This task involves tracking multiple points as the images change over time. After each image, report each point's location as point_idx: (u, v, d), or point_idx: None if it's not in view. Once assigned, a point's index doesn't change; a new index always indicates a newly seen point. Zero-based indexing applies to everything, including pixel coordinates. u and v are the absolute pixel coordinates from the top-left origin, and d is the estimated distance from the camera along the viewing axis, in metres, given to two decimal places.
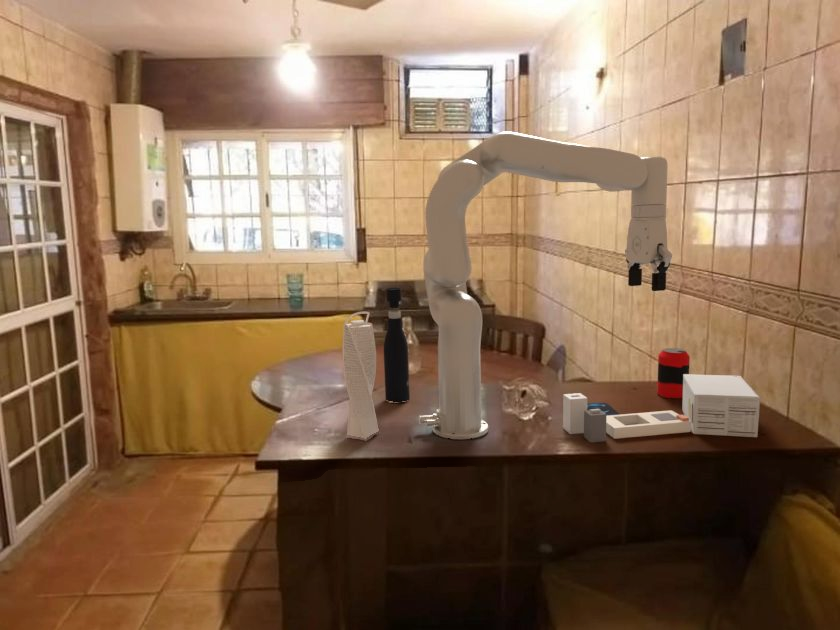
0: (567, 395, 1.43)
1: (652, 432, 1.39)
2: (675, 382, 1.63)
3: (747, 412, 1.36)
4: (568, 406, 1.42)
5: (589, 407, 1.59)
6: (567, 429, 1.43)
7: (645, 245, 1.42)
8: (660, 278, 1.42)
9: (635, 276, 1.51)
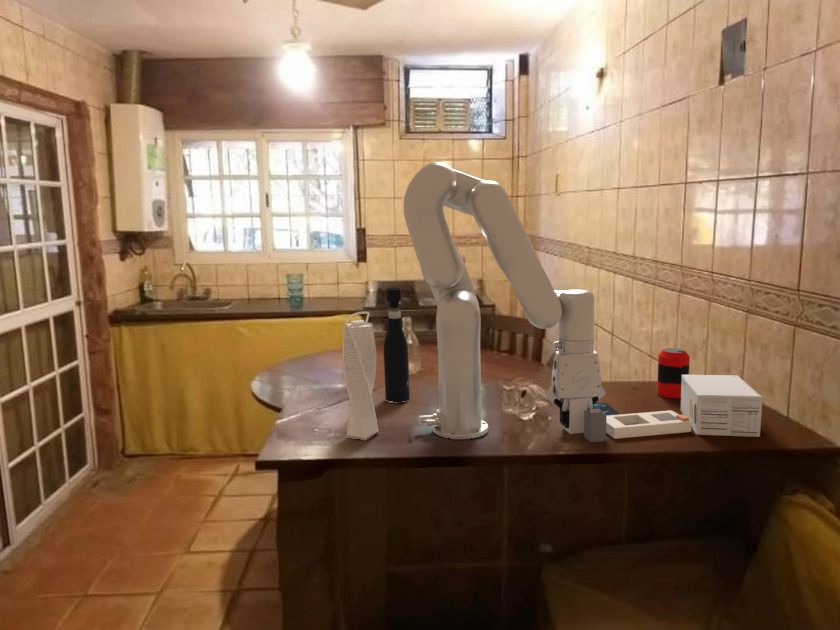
0: None
1: (652, 432, 1.39)
2: (675, 382, 1.63)
3: (749, 412, 1.36)
4: (568, 405, 1.42)
5: None
6: (567, 429, 1.43)
7: (595, 378, 1.40)
8: None
9: None
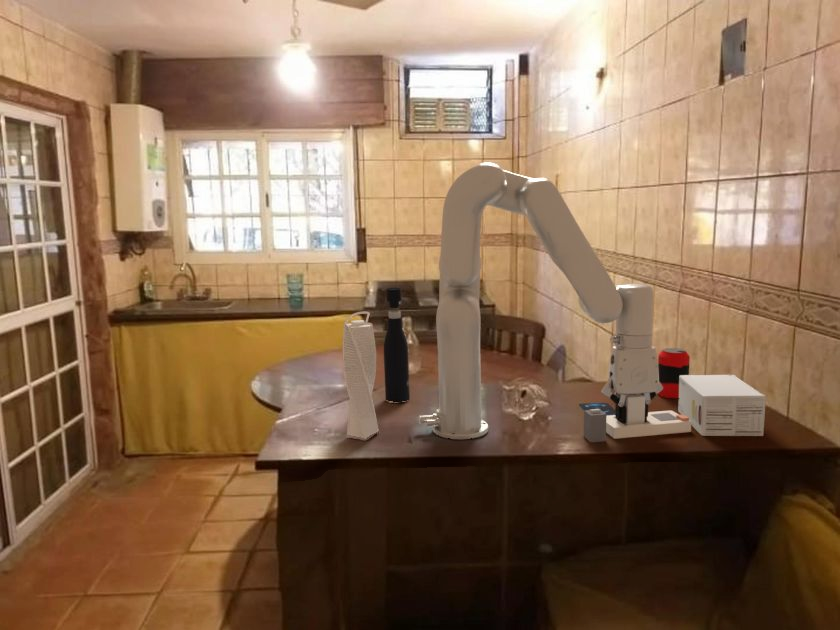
0: None
1: (652, 432, 1.39)
2: (675, 382, 1.63)
3: (753, 412, 1.36)
4: (625, 404, 1.41)
5: (589, 407, 1.59)
6: None
7: (653, 374, 1.39)
8: None
9: None
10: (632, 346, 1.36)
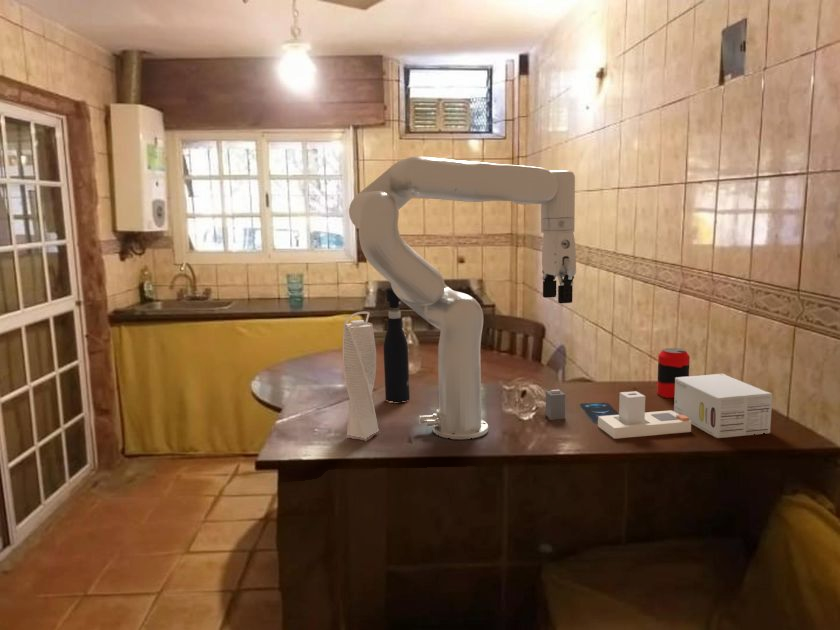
0: (624, 393, 1.42)
1: (652, 432, 1.39)
2: None
3: (762, 410, 1.37)
4: (625, 404, 1.41)
5: (589, 407, 1.59)
6: None
7: None
8: None
9: None
10: None
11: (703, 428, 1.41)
